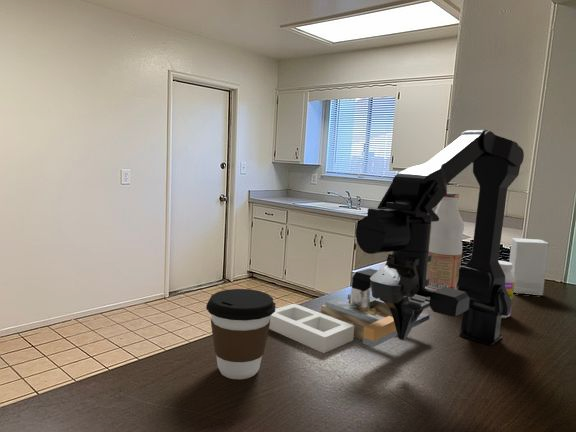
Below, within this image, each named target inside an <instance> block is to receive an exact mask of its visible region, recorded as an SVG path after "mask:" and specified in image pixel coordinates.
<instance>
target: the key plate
mask: <svg viewBox="0 0 576 432" xmlns="http://www.w3.org/2000/svg"><path fill="white" fill-rule="evenodd" d="M347 300H348V301H349V300H351V293H350V294H347ZM324 305H325V306H326V307H329V308H331V309H334V310H337V311H340V312H343V313H346V314H349V315H352V316H354V317H357V318H360V319H363V320H366V321H369V322H372V323H371V324H369V325H366V326H364V336H363V340H362V344H364V345H366V346H369V347H371V348H374V347H377V346H378V345H381V344H383V343H385V342H387V341H388V340H391V339H393V338H395V337H398V334H397V331H396V327H395V323H394V320H393V317H391V316H388V317H385V318H383V319H382V318H379V317H376V316H373V315H370V314H367V313H364V312H362V311H359V310H357V306H354V305H351V304H348V302H344V301H341V300H338V299H335V298H334V299H333V298H332V299H330V300H326V301H325V304H324ZM372 305H378V306H381V307H384V308H387V309H390V308H389V307H388V306H387V305H386V303H385V302H383V301H381V300H380V299H379V298H378V299H376V298H374V297H372V296H370V305H369V306H372ZM429 320H430V313H429V314H428V313H427V312H424V311H422V313H421V314H420V315H419V317H418V318H417V320H416V322H415V324H414V325H413V327H412V329H413V328H415V327H417V326H419V325H420V324H422V323H425V322H427V321H429Z"/></svg>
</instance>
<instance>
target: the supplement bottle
mask: <svg viewBox="0 0 576 432" xmlns="http://www.w3.org/2000/svg"><path fill="white" fill-rule="evenodd" d="M498 262H499V264H500V266H501V268H502V270H503V272H504V274H505V288H506V290H507V292H508V294H509V296H510V299H511V301H512V302H513V300H514V299H513V298H514V294H513V293H514V285H515V277H514V275H512V274H511V273H510V272H511V269H512V263H510V262H509V261H505V260H499V259H498ZM512 306H513V305H512ZM512 306H511V310H510V312H509V313H508V316H504V315H502V317H501V319H507V317H508V318H510V316H511V313H512Z"/></svg>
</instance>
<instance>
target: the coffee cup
mask: <svg viewBox="0 0 576 432" xmlns="http://www.w3.org/2000/svg"><path fill="white" fill-rule="evenodd" d="M205 307H206V308H205V309H206V311H207V312H208V313H209V314H210V315H211V316H210V317H211V319H210V326H211V333H212V340H213V341H212V342H213V348H214V349H213V350H214V353H215V355H216V356H215V357H216V364H217V368H218V370H219V372H220V374H221V375H222V376H223V377H225V378H228V379H230V380H231V379H232V380H245V379H249V378H251V377H254V376H255V375H256V374H257V373H258V372H259V369H260V368H261V362H262V358H263V355H264V354H265V349H266V345H267V340H268V334H269V331H270V329H269V326H270V316H271V315H272V314H273V313H274V312H275V309H276V302H274V298H273V297H272V296H271V295H270V294H268V293H266V292H263V291H261V290H255V289H251V288H250V289H247V288H232V289H231V288H230V289H225V290H220V291H217V292H215V293H213V294H211V295H210V298H209V299H208V301H207V302H206V306H205Z"/></svg>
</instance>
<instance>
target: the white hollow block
mask: <svg viewBox="0 0 576 432" xmlns="http://www.w3.org/2000/svg"><path fill="white" fill-rule="evenodd" d="M319 312H320V311H319ZM319 312H318V311H316V310H313V309H310V308H308V307H305V306H302V305H299V304H297V303H291V304H287V305H284V306H281V307H277V308H275V312H274V313H273V314H272V315H271V316H270V326H269V330H270V331H273V332H276V333H278V334H280V335H282V336H284V337H287V338H289V339H291V340H292V341H293V340H294V341H295V342H298V343H300V344H302V345H305V346H306V347H308V348H310V349H313V350H315V351H318V352H320V353H322V354H325V353H328V352H330V351H332V350H334V349H337V348H339V347H341V346H344V345H346V344H349V343H350V342H352V341H354V337H353V336H354V325H352V324H349V323H346V322H344V321H341V320H338V319H335V318H333V317H330V316H327V315H324V314H322V313H319Z"/></svg>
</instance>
